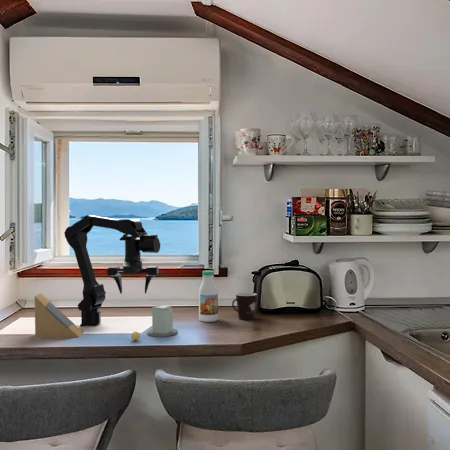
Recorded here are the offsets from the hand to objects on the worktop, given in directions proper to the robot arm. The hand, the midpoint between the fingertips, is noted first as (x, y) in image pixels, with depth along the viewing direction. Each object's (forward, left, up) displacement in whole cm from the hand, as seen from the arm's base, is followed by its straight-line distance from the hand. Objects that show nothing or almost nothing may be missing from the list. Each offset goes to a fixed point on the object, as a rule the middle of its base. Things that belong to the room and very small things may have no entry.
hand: (133, 293), depth 192 cm
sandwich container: (-25, -10, -13) cm, 30 cm away
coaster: (+12, -9, -13) cm, 20 cm away
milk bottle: (+28, +12, -13) cm, 33 cm away
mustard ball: (+4, -19, -13) cm, 23 cm away
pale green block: (+12, -9, -12) cm, 19 cm away
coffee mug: (+42, +14, -13) cm, 46 cm away
